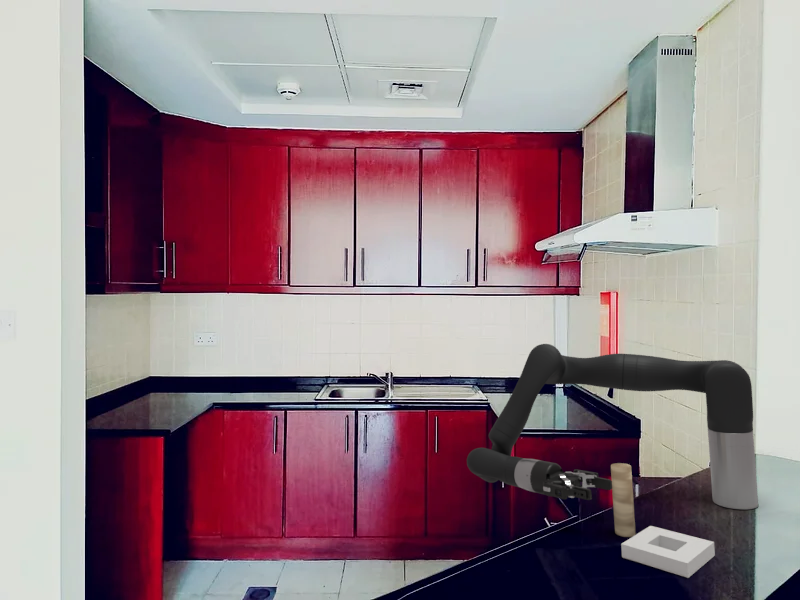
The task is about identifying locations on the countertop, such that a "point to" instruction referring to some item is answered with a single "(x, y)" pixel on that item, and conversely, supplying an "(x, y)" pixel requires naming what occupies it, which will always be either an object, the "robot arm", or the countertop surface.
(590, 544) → the countertop surface
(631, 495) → the peg
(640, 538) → the socket plate
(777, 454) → the countertop surface
